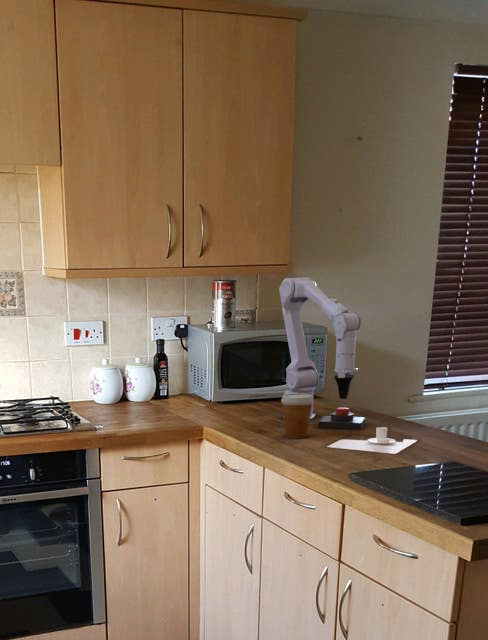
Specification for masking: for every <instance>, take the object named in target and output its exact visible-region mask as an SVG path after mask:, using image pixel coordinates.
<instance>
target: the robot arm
mask: <svg viewBox="0 0 488 640" xmlns="http://www.w3.org/2000/svg"><path fill="white" fill-rule="evenodd" d="M278 291H279V297H280V303H281V309H282V315H283V320H284V327H285V332H286V337H287V343H288V348H289V354H290V360H291V362H290V363H289V365H288V366H287V367H286V368H285V371H286V378H285V380H286V381H285V382H286V386H287V388H288V389H286V390H284V394H283V395H285V394H294V393H301V394H310V395H312V398H313V399H314V391H315V390H316V387H318V385H319V383H320V373H319V371H318V370H317V367H316V363H315V362H314V361H312V360H311V359H310V358H309V355H308V349H307V343H306V339H305V332H304V327H303V322H302V315H301V309H302V307H304V306H305V305H306V303H308V301H309V300H310V301H311V302H312V303H313V304H314V305H316V306H318V308H320V312H321V314H322V315H323V316H324V317H325V318H326V319H327V320H328V321H329V322H330V323H331V324H332V327H333V330H334V333H335V334H334V337H335V339H336V344H335V347H336V349H335V368H334V372H335V373H337V374H335V375H334V380H335V383H336V386H337V391H338V397H339V399H340V400H347V399H348V397H349V393H350V388H351V384H352V382H353V379H354V378H355V374H351V373H354V372H359V368H358V367H355V365H356V364H355V362H356V347H357V346H356V343H357V331H358V330H360V328H361V325H362V318H361V316H360V314H359V313H358V312H357V311H349V309H348V308H347V307H345V306H344V305H342V303H340V300H339V299H338V298H329V297H328V296H327V295H326V294H325V293H324V292H323V291H322V290H321V289H320V288H319V287H318V286H317V282H316V281H315V280H314V279H313V278H312V277H309V276H306V277H292V278H290V277H286V278H284V279H282V282H281V283H280V286H279V288H278ZM315 416H316V413H314V402H313V403H312V406H311V413H310V419H309V420H312V419H314V417H315ZM282 419H284V414H283V415H282Z"/></svg>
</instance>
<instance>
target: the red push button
mask: <svg viewBox="0 0 488 640" xmlns="http://www.w3.org/2000/svg"><path fill="white" fill-rule="evenodd" d="M335 412H336V414H337V415H348V414H349V412H350V408H349V407H345V406H339V407H336V408H335Z"/></svg>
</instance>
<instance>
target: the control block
mask: <svg viewBox="0 0 488 640" xmlns="http://www.w3.org/2000/svg"><path fill="white" fill-rule="evenodd" d="M365 423H366V417H362V416H355V413H354V412H350V411H349V414H348V415H337V414H336V411H333V412H331V413H330V415H323V416H322V417H321V418H320V419H319V421H318V429H325V430H346V431H347V430H348V431H349V430H351V431H361V430H362V429H363V428H364V426H365Z"/></svg>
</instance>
